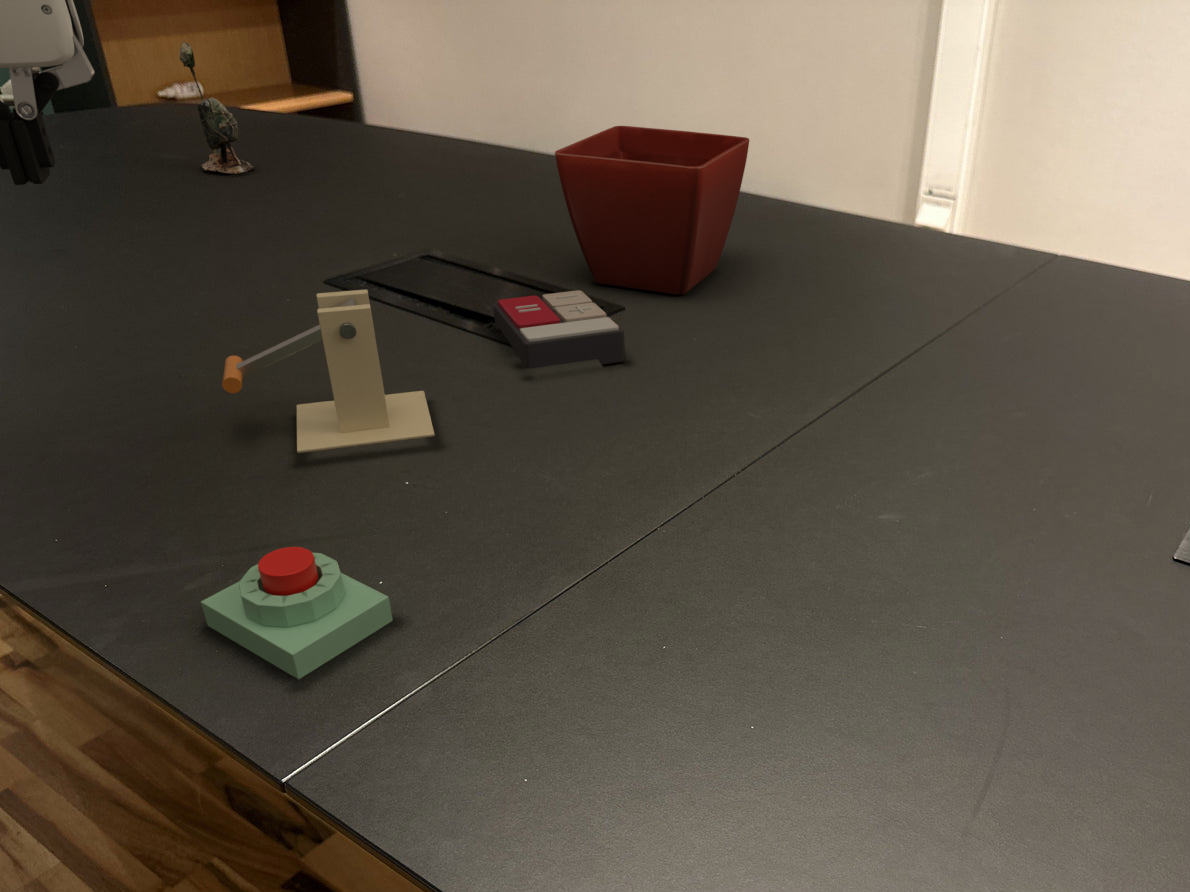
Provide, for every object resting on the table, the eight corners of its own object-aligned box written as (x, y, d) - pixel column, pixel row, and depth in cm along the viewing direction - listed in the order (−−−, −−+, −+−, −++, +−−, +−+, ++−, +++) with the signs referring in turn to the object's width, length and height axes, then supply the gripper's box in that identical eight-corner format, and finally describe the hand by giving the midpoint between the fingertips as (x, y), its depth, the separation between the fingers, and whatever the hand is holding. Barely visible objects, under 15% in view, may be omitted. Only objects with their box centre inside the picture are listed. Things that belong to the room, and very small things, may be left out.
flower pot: (620, 247, 150) (616, 122, 141) (747, 264, 145) (752, 136, 135) (559, 288, 134) (550, 151, 125) (698, 309, 129) (700, 168, 120)
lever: (232, 400, 92) (215, 378, 90) (234, 377, 96) (218, 356, 94) (369, 334, 93) (354, 311, 91) (366, 314, 97) (352, 292, 95)
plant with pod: (207, 180, 175) (176, 49, 164) (198, 165, 183) (168, 39, 172) (259, 175, 178) (232, 46, 167) (247, 161, 186) (221, 37, 175)
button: (252, 585, 72) (246, 563, 71) (296, 561, 74) (291, 540, 74) (285, 603, 70) (280, 581, 69) (329, 578, 73) (325, 557, 72)
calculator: (583, 286, 124) (624, 323, 113) (585, 321, 127) (626, 361, 115) (491, 297, 121) (524, 336, 109) (495, 333, 123) (528, 376, 111)
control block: (207, 626, 74) (193, 580, 72) (303, 574, 79) (292, 530, 77) (298, 680, 69) (286, 632, 67) (393, 621, 75) (385, 575, 73)
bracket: (299, 462, 94) (269, 327, 87) (298, 415, 102) (271, 287, 95) (436, 445, 98) (418, 313, 91) (425, 401, 105) (407, 276, 99)
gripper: (83, -143, 66) (160, 161, 76) (-202, -151, 61) (-81, 172, 71) (62, -142, 60) (149, 187, 70) (-255, -151, 56) (-115, 201, 65)
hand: (33, 179), depth 71 cm, fingers closed
